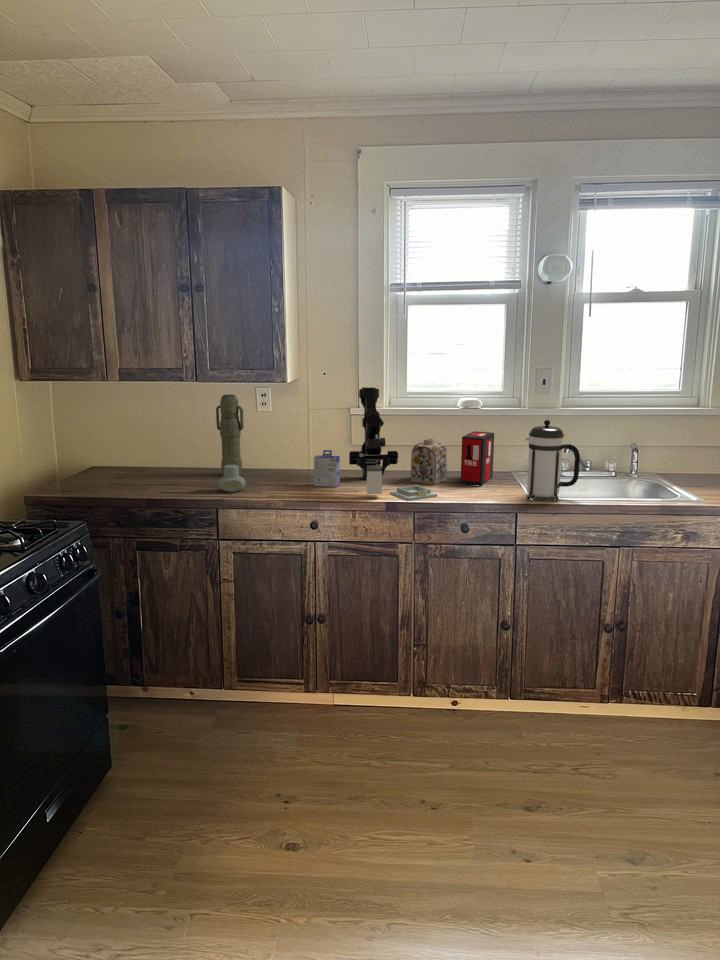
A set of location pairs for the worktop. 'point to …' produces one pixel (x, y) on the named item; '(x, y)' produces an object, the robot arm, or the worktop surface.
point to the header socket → (413, 492)
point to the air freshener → (231, 479)
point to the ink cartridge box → (327, 470)
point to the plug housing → (374, 479)
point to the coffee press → (547, 461)
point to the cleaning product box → (477, 458)
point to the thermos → (230, 431)
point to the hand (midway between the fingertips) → (374, 476)
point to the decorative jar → (428, 462)
